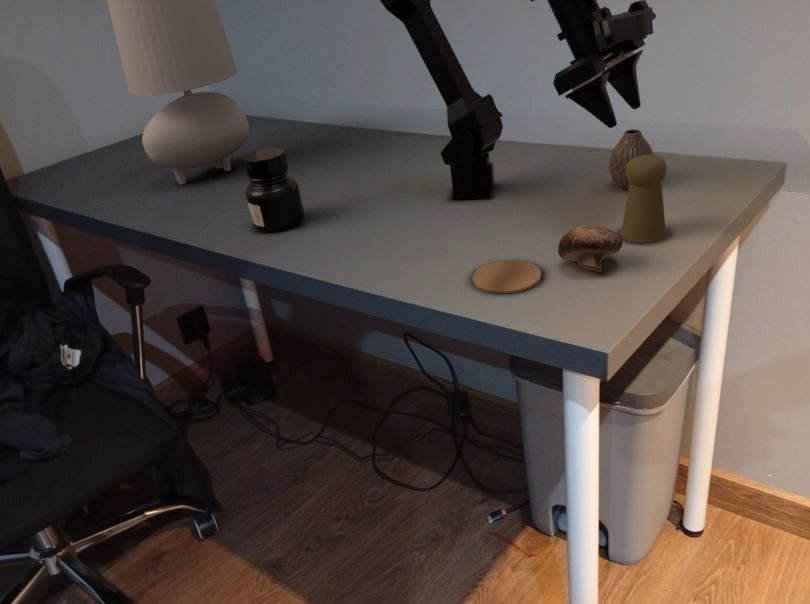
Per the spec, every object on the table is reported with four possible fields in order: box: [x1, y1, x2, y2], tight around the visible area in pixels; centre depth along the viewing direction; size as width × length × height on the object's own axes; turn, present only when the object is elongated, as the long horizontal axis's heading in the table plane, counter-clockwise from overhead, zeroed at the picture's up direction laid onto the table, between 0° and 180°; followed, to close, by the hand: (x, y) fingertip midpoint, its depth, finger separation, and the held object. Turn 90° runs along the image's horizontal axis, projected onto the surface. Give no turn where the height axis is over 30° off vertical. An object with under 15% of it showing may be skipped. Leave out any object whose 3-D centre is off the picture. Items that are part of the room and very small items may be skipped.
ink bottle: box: [242, 147, 305, 233], centre depth 123 cm, size 10×9×12 cm
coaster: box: [472, 259, 542, 295], centre depth 97 cm, size 9×9×1 cm
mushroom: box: [557, 224, 623, 273], centre depth 95 cm, size 8×8×6 cm
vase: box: [608, 128, 655, 190], centre depth 117 cm, size 7×7×9 cm
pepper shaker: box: [620, 154, 667, 244], centre depth 100 cm, size 6×6×11 cm
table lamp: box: [106, 0, 250, 185], centre depth 146 cm, size 23×22×40 cm
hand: (625, 117), depth 104 cm, fingers open, 9 cm apart
